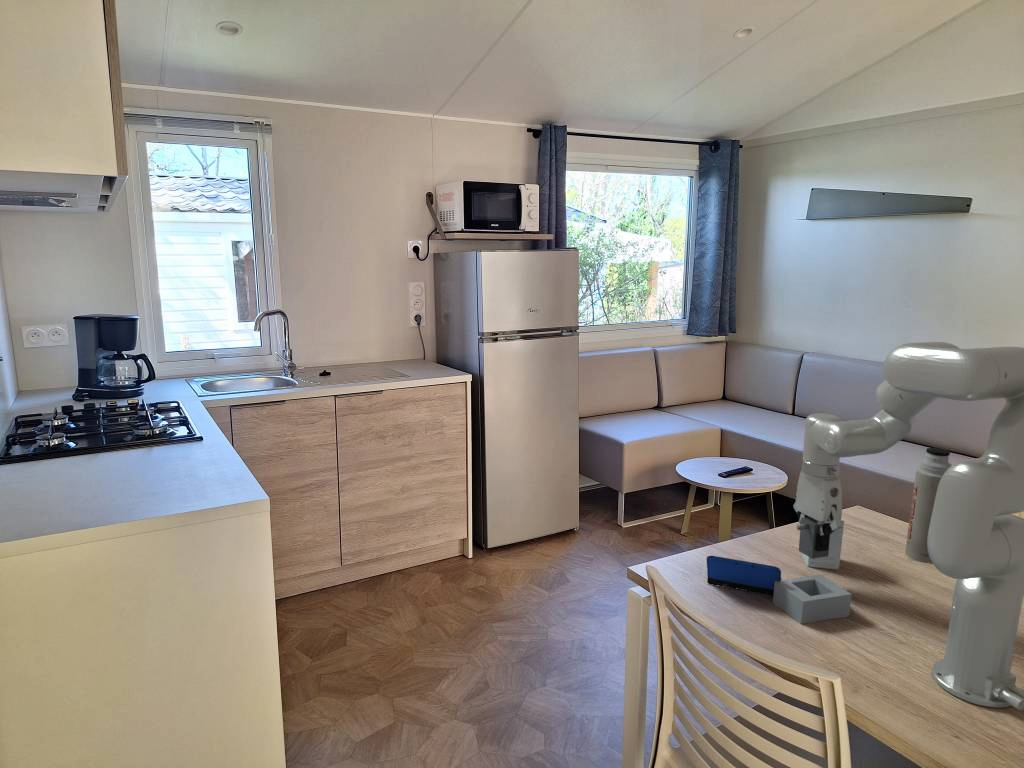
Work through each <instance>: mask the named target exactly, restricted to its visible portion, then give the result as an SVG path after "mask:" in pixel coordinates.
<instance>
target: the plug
mask: <svg viewBox="0 0 1024 768" xmlns="http://www.w3.org/2000/svg"><path fill="white" fill-rule="evenodd" d="M825 527H826V524H824V528H825ZM796 530H797V531H799V540H798V541H799V543H798V552H799V553H803V554H805V555H807V556H808V557H810V558H812V559H813V558H820V557H827V556H828V553H829V549H828V550H827V551H819V552H818V551H816V550H815V547H816V535H817V534H819V531H818V521H817V520H815V519H813V518H811V517H805V518H801V524H797V525H796ZM829 541H830V540H829Z"/></svg>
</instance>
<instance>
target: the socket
mask: <svg viewBox="0 0 1024 768" xmlns="http://www.w3.org/2000/svg"><path fill="white" fill-rule="evenodd" d="M852 596H853V595H852V593H850V592H849V591H848V590H846V589H844V588H842V587H841V586H840V585H838V584H836V583H835V582H834V581H832V580H830V579H829V578H827V577H825V576H824V575H822V574H817V575H809V576H803V577H796V578H795V577H794V578H788V579H781V580H780V581H775V585H774V595H773V598H772V603H773V604H774V605H776V606H777V607H779V608H780V609H781V610H782V611H783V612H784V613H786V614H787V615H789V616H790V617H791V618H793V620H795V621H796V622H797V623H799V624H800V625H804V624H808V623H815V622H821V621H828V620H832V619H833V620H834V619H841V618H845V617H849V616H850V611H851V610H850V609H851V602H852Z"/></svg>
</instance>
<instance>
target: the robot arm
mask: <svg viewBox="0 0 1024 768" xmlns="http://www.w3.org/2000/svg"><path fill="white" fill-rule="evenodd" d="M882 373H883V377H884V378H885V380H883V381H882V382H881V383H880V384H879V385H878V386H877V387H876V389H875V398H876V401H877V404H878V405H879V407H880V408H881V410H880V411H879V412H877V413H876V414H875V415H874V416H872V417H870V418H867V419H865V418H864V419H855V420H845V421H843V420H842V418H840V417H839V416H838V415H835V414H830V413H822V412H821V413H820V412H819V413H811V414H809V415H807V417H806V418H805V424H804V435H803V436H804V438H803V448H802V465H801V470H800V473H799V477H798V482H797V486H796V494H795V495H796V496H795V502H794V504H793V505H792V506H793V509H794V511H795V512H796V515H797V517H798V519H799V520H798V523H799V524H798V525H800V524H801V518H805V517H811V518H813V519H815V520H817V521H818V531H819V534H817V535H816V547H815V550H816V551H818V552H819V551H827V550H828V549H829V540H830V534H832V533H833V532H834V531H835V530H837V529H840V528H841V527H842V526H841V523H840V520H841V517H842V518H843V488H842V482H841V478H839V476H840V472H841V471H840V460H841V458H851V457H858V456H868V455H877V454H880V453H884V452H885V451H887V450H888V449H891V448H893V446H894V445H896V444H897V443H899V442H900V441H902V440H903V439H904V438H905V437H906V436H907V435H909V433H910V432H911V430H912V429H913V426H914V424H915V420H916V416H917V415H918V414H919V413H921V412H923V410H925V409H926V408H927V407H928V406H930V405H931V404H933V402H935V401H936V400H938V399H939V398H940V399H946V400H951V401H960V402H961V401H963V402H964V401H965V402H966V401H967V402H975V401H989V400H998V399H999V400H1000V399H1004V400H1005V404H1004V406H1003V408H1002V409H1001V410H1000V412H999V413H998V414H997V415H996V417H995V419H994V421H993V423H992V425H991V428H990V430H989V437H988V442H987V445H986V448H985V450H984V453H983V455H982V456H981V457H977V458H969V459H964V460H961V461H957V462H955V463H954V464H951V465H952V466H951V467H950V468H948V469H947V471H946V472H945V473H944V475H943V476H942V478H941V480H940V482H939V485H938V489H937V493H936V498H935V502H934V507H933V512H932V517H931V521H930V526H929V531H928V538H927V548H928V553H929V556H930V559H931V561H932V563H931V564H932V565H933V567H935V568H936V569H937V570H938V572H940V573H941V574H942V575H944V576H946V577H948V578H951V579H956V581H955V586H954V592H953V597H952V603H951V610H950V618H949V623H948V628H947V629H948V630H947V636H946V637H947V638H946V645H945V651H944V657H943V659H939V660H936V661H935V662H934V663H933V664H932V667H931V669H932V670H931V675H932V678H933V680H934V681H935V682H936V683H937V684H938V685H939V686H940V687H941V689H943V690H945V691H946V692H948V693H949V694H951V695H953V696H955V697H957V698H958V699H961V700H963V701H966V702H968V703H972V704H974V705H978V706H983V707H989V708H998V709H999V708H1000V709H1001V708H1007V707H1011V706H1012V707H1014V708H1015V709H1017V710H1018V711H1023V710H1024V690H1022V689H1021V688H1018V687H1017V685H1016V683H1017V682H1016V680H1017V675H1015V674H1014V673H1012V672H1011V671H1012V663H1013V659H1014V651H1015V647H1016V640H1017V636H1018V635H1017V634H1018V628H1019V624H1020V619H1021V616H1020V615H1021V612H1022V606H1023V602H1024V520H1022V519H1020V518H1018V517H1016V516H1013V514H1017V513H1018V514H1019V513H1024V347H1020V346H997V347H996V346H995V347H993V346H992V347H978V348H960V347H959V346H957V345H955V344H952V343H949V342H944V341H928V342H925V341H924V342H908V343H903V344H901V345H898V346H896V347H894V348H893V349H892V350H891V351H890V352H889V353H888V354H887V355H886V357H885V359H884V362H883V366H882ZM824 524H826V527H825V528H824Z"/></svg>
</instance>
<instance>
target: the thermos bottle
mask: <svg viewBox="0 0 1024 768" xmlns="http://www.w3.org/2000/svg"><path fill="white" fill-rule="evenodd" d="M950 454H951V452H950V450H947V449H943V448H938V447H927V448H926V453H925V457H924V459H920V463H919V467H917V468H916V469H915V475H914V482H913V483H914V484H913V490H912V491H913V492H912V498H911V506H910V514H909V521H908V528H907V534H906V535H907V536H906V545H905V550H904V553H905V555H906V556H908V558H911V559H913V560H915V561H918V562H922V563H926V562H928V563H929V564H930V563H931V564H933V563H932V561H931V559H930V556H929V553H928V548H927V538H928V531H929V526H930V521H931V517H932V512H933V507H934V502H935V498H936V493H937V489H938V485H939V482H940V480H941V478H942V476H943V475H944V473H945V472H946V471H947V469H948V468H950V467H951V466H952V465H953V464H951V462H949V457H950ZM928 563H927V564H928Z"/></svg>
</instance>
